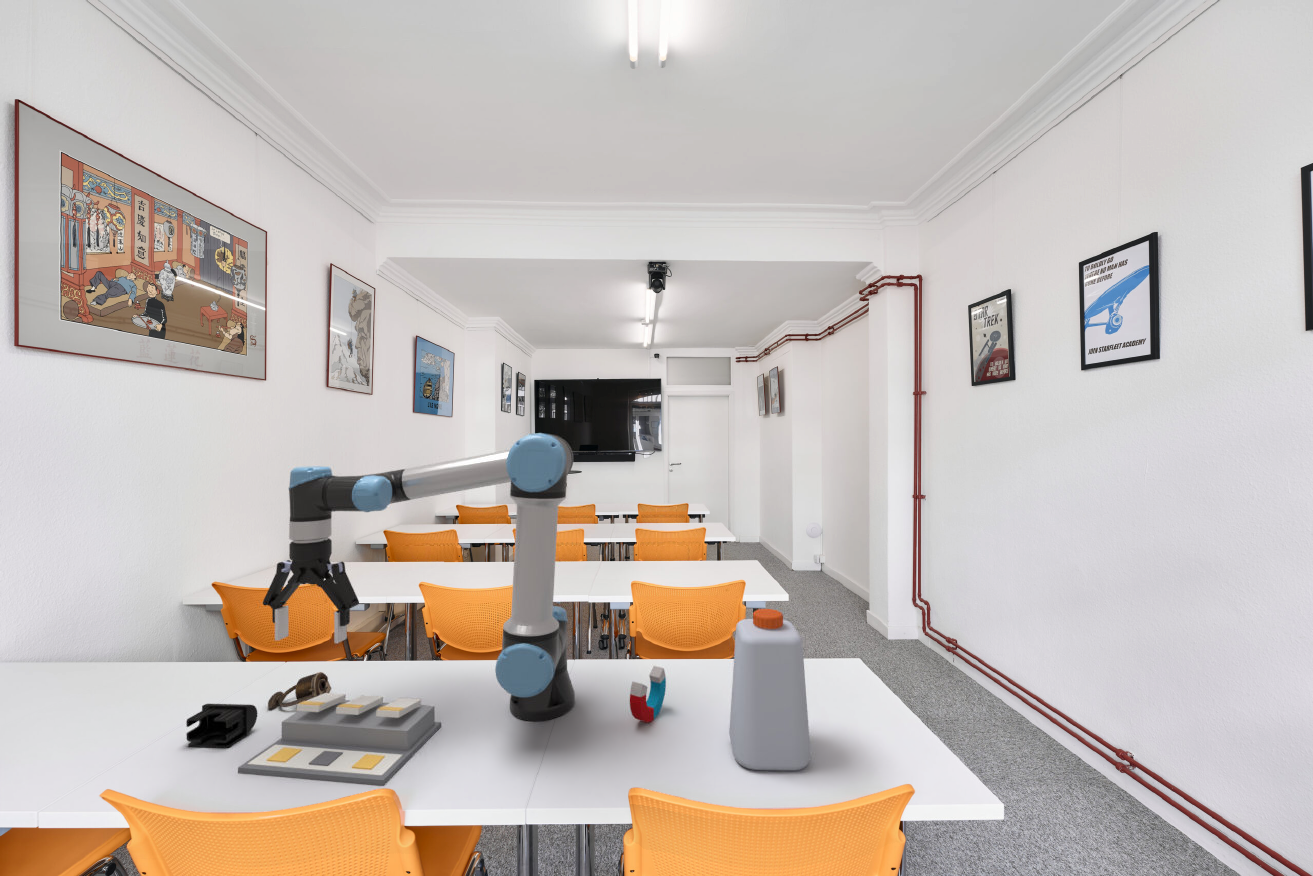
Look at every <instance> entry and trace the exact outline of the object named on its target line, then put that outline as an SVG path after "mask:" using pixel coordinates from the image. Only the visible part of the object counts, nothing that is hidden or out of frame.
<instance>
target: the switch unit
mask: <svg viewBox="0 0 1313 876" xmlns="http://www.w3.org/2000/svg"><path fill="white" fill-rule="evenodd" d="M351 700H352V699H350V700H349V699H348V700H347V699H345V700H344V701H342V702H340V703H338V704H335V705H333V706H331V707H329V708H326V709H324V710H322V711H319V712H310V711H296V712H295V713H293V714H292V715H290V716H289V717H286V718H285V719H284V720H283V721H281V738H279V739H278V740H276V741H275V742H274V743H272V744H270V745H269V746H267V747H266V748H265V749H263V750H261V751H260V752H258V753H257V754H256V755H254V756H253V757H251V758H250V759H249V760H246V761H245V762H244V763H242V764H241V765H239V766H238V767H237V773H238V774H246V775H248V774H249V775H258V776H259V775H260V776H271V777H280V778H282V777H284V778H293V779H294V778H295V779H305V780H317V781H328V782H337V783H338V782H340V783H349V784H350V783H351V784H363V785H374V786H385V785H386V784H387V782H389V780H390V779H392V777H394V775H396V774H397V773H398V771H399V770H400V769H401V768H403V766H404V765H405V764H406V763H407V762H408V761H409V760H411V758H412V757H413V756H414V755H415V754H416V753H417V752H418V751H419V750H420V749H421V748H422V747H423V746H424V745H425V744H426V743H427V742H428V741H429V740H430V739H431V738H432V737H433V736H434V735H435V734H436V733H437V732H438V731H439V730H440V729H441V728H442V721H435V709H436V708H435V705H424V704H421V705H420V706H418V707H417V708H415V709H413V710H411V711H410V712H408V713H406V714H404V715H403V716H401V717H399V718H395V717H381V716H376V711H377V709H378V708H380V707H382V706H385V705H387V704H389V703H390V702H383V703H381V704H379V705H377V706H375V707H373V708H371V709H369V710H367V711H365V712H363V713H361V714H359V715H352V714H338V713H336V707H338V706H339V705H341V704H344V703H347V702H349V701H351Z"/></svg>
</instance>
